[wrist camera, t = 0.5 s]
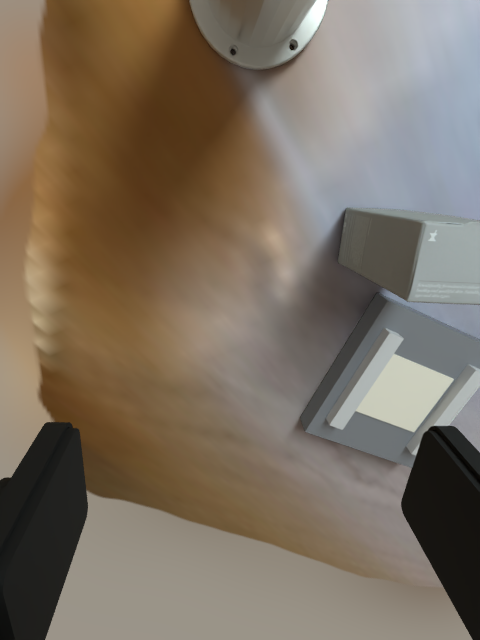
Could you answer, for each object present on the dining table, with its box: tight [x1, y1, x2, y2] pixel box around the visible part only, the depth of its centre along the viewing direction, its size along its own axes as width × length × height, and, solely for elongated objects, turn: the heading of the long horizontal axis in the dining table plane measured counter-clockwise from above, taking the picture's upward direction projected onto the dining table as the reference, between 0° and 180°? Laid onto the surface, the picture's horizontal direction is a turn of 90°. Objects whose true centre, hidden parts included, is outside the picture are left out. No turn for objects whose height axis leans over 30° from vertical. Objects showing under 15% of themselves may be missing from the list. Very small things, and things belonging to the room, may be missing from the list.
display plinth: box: [300, 293, 480, 468], centre depth 49 cm, size 20×18×4 cm
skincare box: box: [338, 208, 480, 305], centre depth 36 cm, size 8×7×16 cm
